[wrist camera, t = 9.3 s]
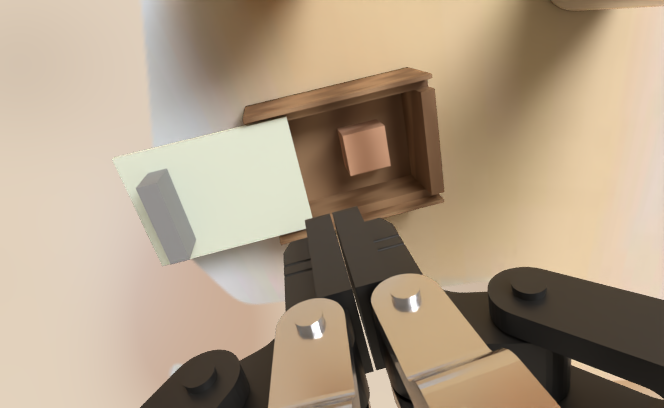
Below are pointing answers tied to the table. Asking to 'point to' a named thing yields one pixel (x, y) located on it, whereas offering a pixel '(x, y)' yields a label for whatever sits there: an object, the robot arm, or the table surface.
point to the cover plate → (217, 190)
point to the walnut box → (364, 144)
